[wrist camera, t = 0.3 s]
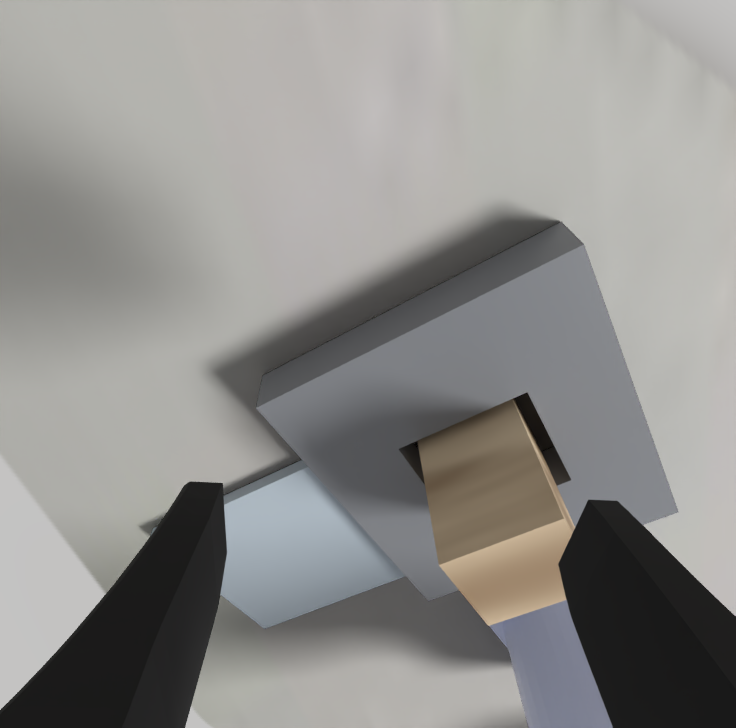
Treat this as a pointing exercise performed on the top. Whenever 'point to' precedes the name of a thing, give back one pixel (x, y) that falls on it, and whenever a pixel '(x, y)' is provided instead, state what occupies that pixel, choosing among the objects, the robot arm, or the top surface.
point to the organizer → (471, 395)
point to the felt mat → (295, 548)
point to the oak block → (496, 513)
